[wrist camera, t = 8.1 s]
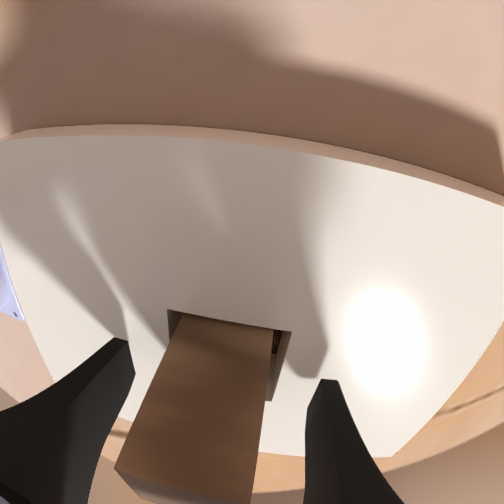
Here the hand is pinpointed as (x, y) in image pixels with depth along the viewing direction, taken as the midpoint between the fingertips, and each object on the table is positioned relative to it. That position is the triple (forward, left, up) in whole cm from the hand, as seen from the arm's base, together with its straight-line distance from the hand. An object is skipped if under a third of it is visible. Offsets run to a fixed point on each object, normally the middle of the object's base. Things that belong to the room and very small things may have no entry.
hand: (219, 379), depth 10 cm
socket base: (0, 0, -4) cm, 4 cm away
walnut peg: (0, 0, -4) cm, 4 cm away
